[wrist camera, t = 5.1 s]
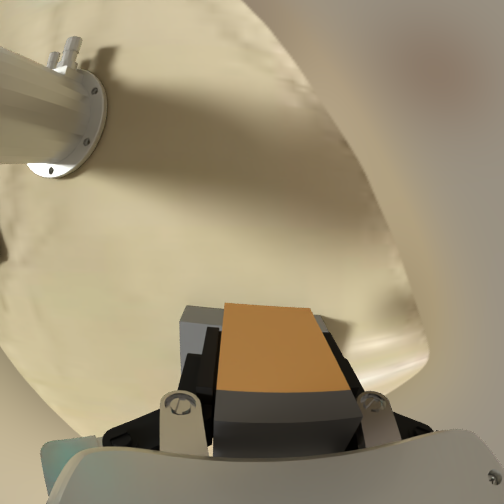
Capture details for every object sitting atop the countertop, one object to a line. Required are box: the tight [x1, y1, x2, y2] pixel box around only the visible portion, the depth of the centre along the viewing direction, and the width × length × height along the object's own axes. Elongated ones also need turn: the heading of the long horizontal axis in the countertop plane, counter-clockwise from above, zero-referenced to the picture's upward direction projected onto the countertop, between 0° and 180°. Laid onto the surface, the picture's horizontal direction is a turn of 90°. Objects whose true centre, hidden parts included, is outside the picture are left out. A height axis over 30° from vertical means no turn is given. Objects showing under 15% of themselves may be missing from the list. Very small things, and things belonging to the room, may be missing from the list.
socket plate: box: [179, 306, 329, 375], centre depth 28 cm, size 14×14×4 cm
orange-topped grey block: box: [213, 303, 363, 458], centre depth 10 cm, size 4×4×7 cm
